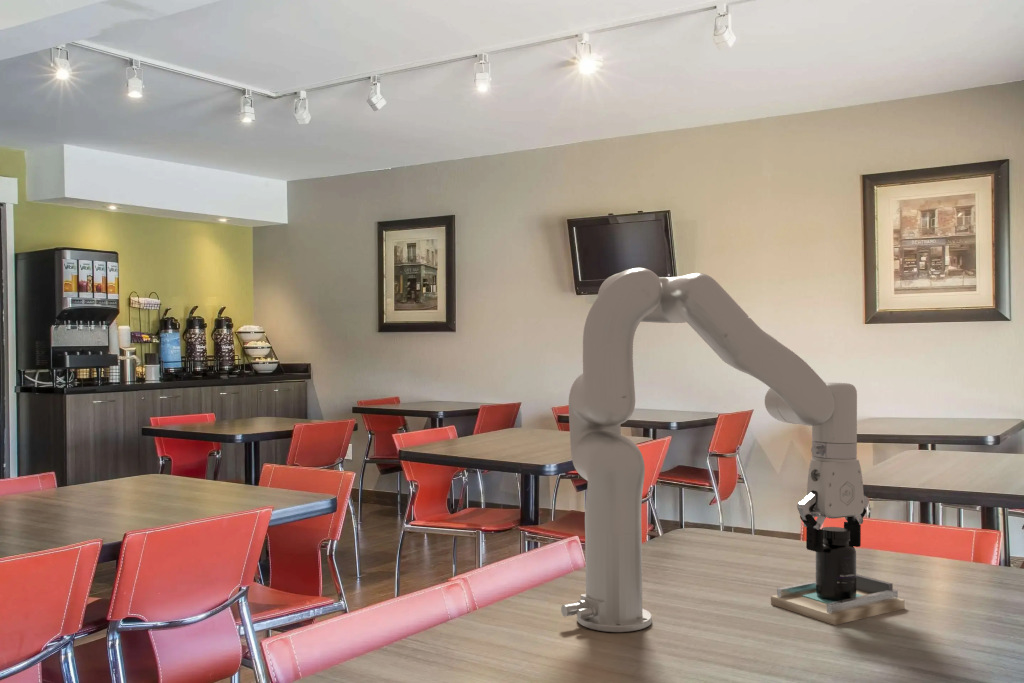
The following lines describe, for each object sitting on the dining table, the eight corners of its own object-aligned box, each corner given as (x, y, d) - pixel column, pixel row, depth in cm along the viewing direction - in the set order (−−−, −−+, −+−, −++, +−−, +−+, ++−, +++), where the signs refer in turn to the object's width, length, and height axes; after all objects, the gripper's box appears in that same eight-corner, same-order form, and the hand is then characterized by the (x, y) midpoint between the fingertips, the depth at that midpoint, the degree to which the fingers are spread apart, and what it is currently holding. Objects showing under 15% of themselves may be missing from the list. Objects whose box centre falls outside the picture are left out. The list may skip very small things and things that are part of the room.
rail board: (834, 625, 143) (834, 600, 143) (771, 604, 155) (770, 581, 155) (904, 608, 152) (904, 585, 152) (839, 589, 164) (838, 568, 164)
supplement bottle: (850, 604, 149) (849, 534, 149) (810, 597, 153) (809, 529, 153) (861, 595, 154) (860, 527, 155) (823, 589, 159) (822, 523, 159)
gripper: (817, 456, 147) (816, 557, 146) (884, 451, 155) (883, 547, 155) (783, 451, 153) (782, 548, 153) (849, 447, 162) (848, 539, 161)
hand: (833, 548), depth 154 cm, fingers open, 9 cm apart
